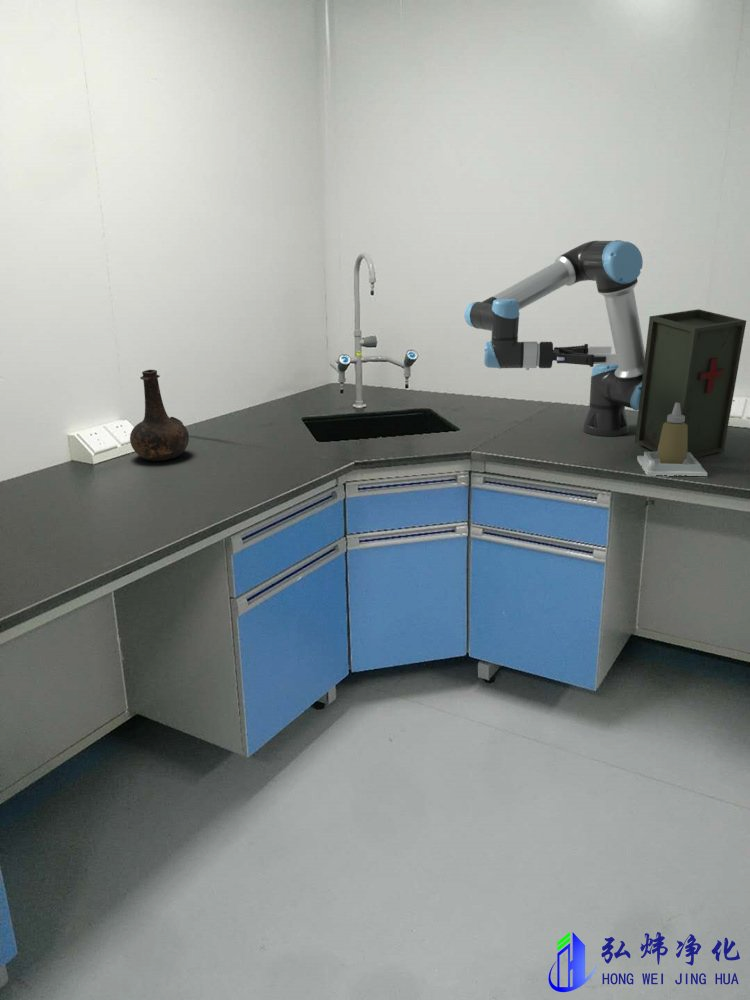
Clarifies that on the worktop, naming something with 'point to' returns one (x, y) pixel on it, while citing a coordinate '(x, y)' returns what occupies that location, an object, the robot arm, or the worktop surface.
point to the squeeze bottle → (673, 438)
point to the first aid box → (690, 377)
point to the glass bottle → (157, 426)
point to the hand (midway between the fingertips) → (614, 355)
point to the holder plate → (670, 466)
